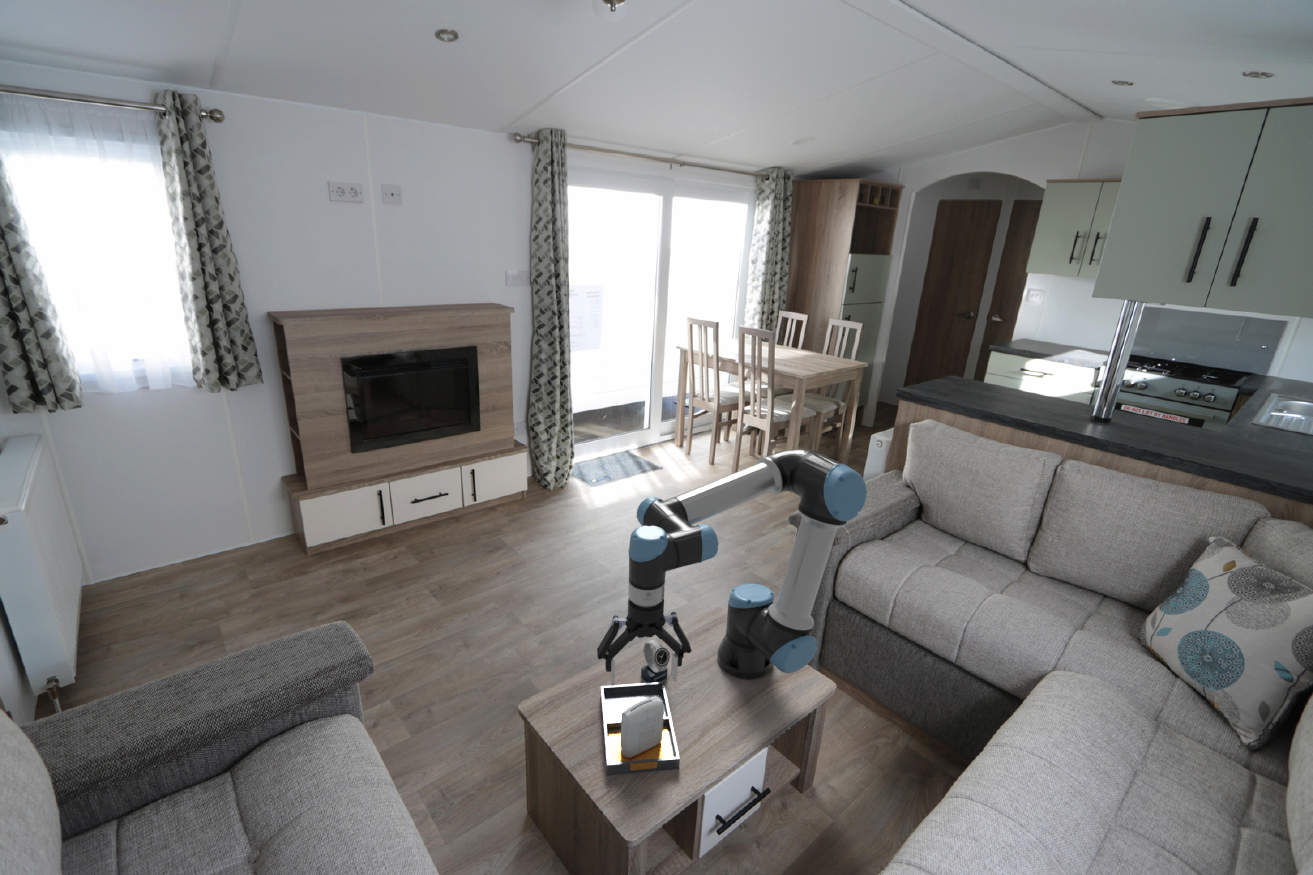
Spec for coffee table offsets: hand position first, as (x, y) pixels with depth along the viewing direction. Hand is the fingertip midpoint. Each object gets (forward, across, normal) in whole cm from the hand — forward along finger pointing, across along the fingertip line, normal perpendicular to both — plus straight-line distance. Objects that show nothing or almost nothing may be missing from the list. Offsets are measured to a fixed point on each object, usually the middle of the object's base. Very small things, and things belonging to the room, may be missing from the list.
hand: (643, 679), depth 134 cm
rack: (+20, 0, +6) cm, 21 cm away
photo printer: (+19, 0, 0) cm, 19 cm away
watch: (+21, +6, +23) cm, 31 cm away
